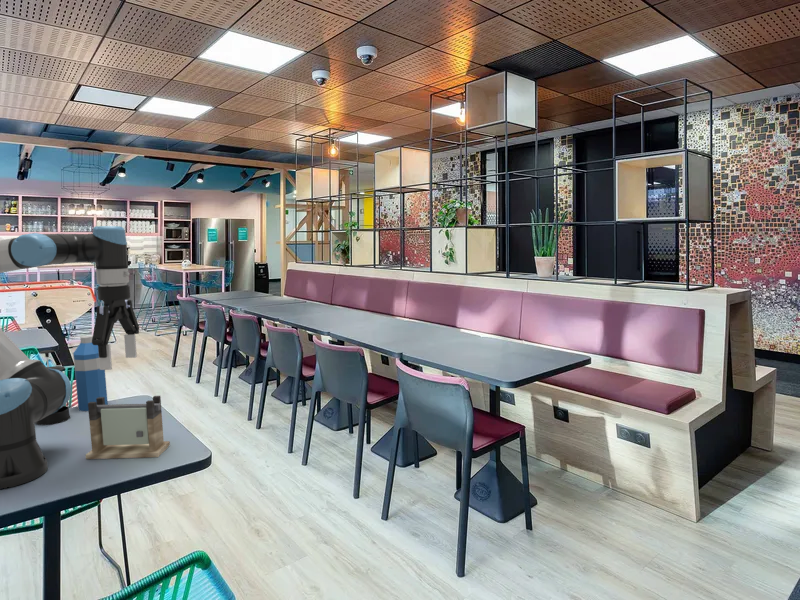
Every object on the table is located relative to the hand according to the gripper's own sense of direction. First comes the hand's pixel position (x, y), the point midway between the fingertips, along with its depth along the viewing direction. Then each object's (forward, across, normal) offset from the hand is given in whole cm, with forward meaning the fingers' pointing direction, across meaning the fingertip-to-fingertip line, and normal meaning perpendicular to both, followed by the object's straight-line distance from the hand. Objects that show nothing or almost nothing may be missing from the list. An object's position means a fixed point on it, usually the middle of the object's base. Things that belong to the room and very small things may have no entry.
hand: (119, 363), depth 143 cm
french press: (+25, +27, +37) cm, 52 cm away
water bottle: (+25, +40, +31) cm, 57 cm away
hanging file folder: (+22, 0, -1) cm, 22 cm away
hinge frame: (+25, 0, -1) cm, 25 cm away
